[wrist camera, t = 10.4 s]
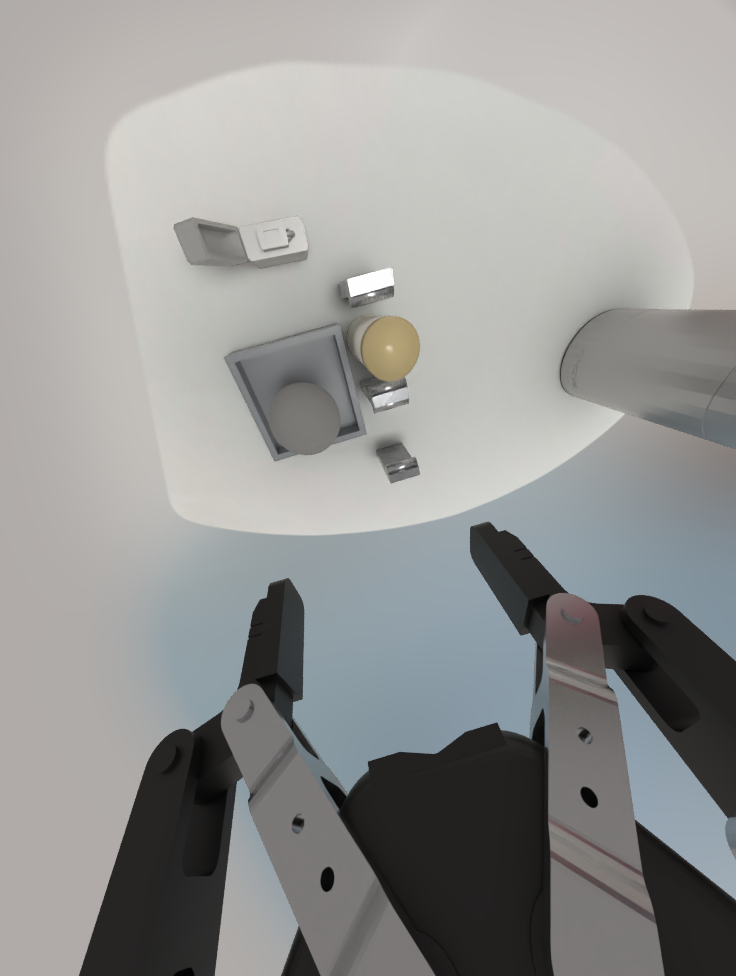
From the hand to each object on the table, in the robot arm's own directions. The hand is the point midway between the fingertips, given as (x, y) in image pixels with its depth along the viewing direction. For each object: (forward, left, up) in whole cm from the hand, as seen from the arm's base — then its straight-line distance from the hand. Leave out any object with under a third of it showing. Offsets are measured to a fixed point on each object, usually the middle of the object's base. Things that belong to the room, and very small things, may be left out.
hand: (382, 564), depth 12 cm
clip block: (-5, -2, -21) cm, 22 cm away
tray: (+3, -3, -21) cm, 22 cm away
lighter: (+2, -14, -22) cm, 26 cm away
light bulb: (+2, -3, -21) cm, 21 cm away
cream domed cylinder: (-5, -6, -21) cm, 23 cm away
